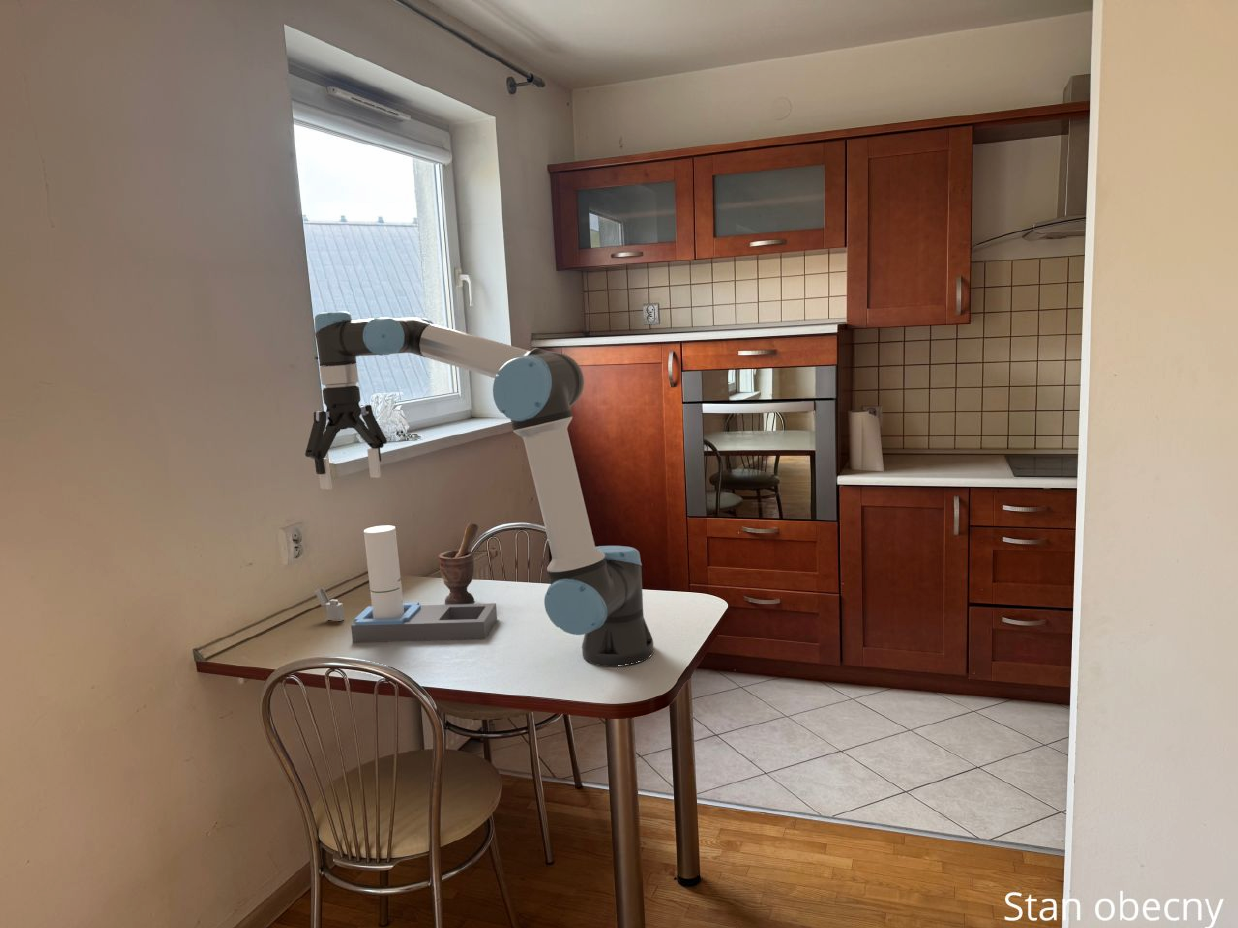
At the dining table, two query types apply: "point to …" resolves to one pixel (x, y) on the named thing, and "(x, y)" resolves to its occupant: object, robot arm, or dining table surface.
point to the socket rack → (427, 623)
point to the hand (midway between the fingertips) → (351, 483)
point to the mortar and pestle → (459, 569)
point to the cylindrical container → (384, 572)
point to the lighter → (330, 606)
